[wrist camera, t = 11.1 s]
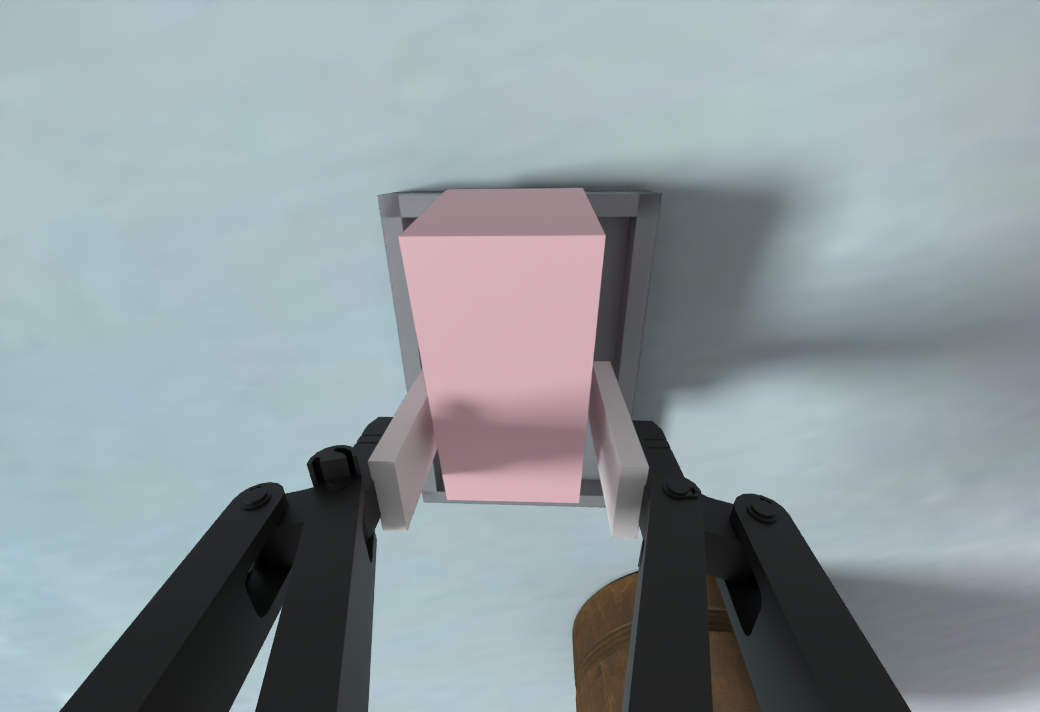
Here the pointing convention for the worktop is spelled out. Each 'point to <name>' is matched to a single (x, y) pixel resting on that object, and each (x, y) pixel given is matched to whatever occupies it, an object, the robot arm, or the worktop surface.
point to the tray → (619, 310)
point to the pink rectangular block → (507, 336)
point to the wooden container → (608, 640)
